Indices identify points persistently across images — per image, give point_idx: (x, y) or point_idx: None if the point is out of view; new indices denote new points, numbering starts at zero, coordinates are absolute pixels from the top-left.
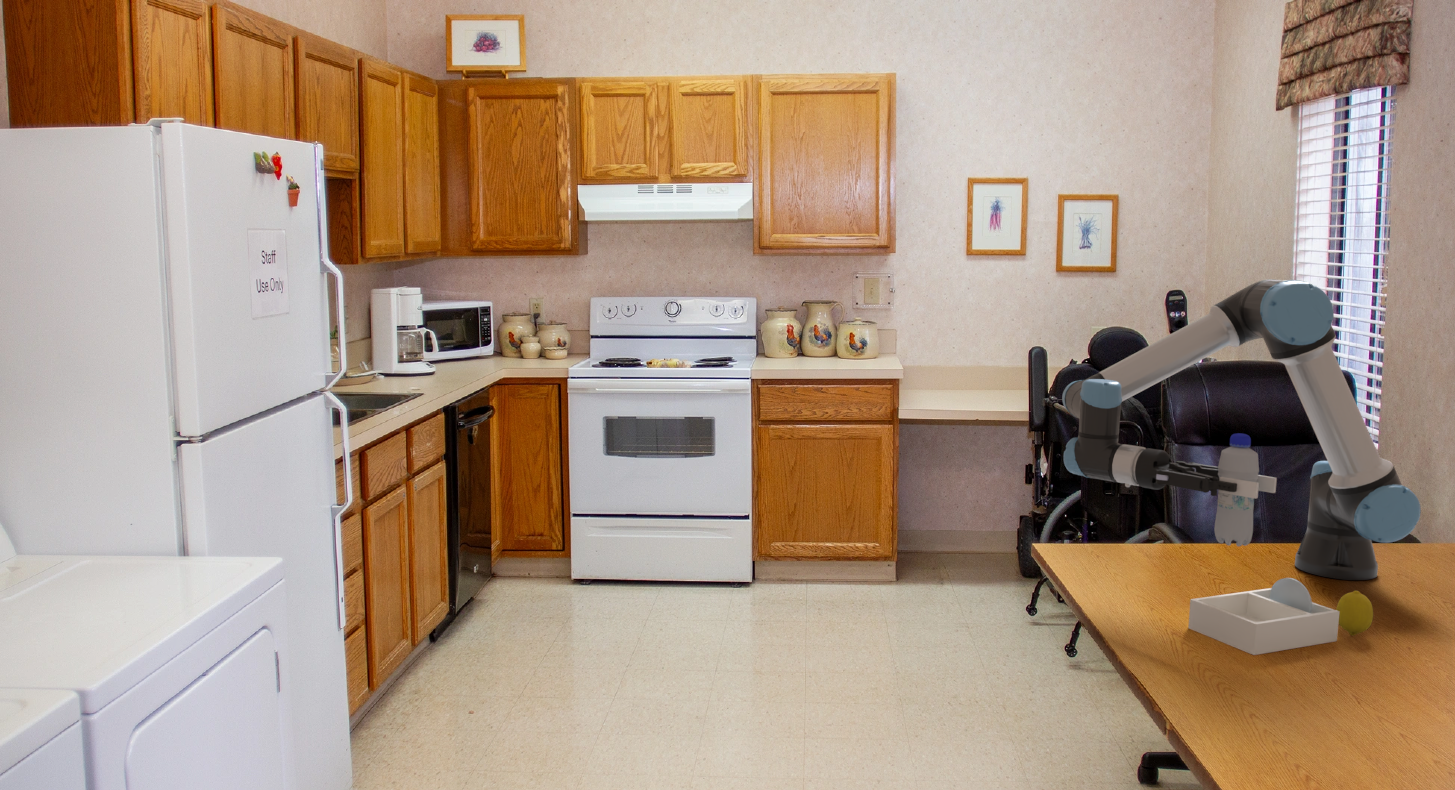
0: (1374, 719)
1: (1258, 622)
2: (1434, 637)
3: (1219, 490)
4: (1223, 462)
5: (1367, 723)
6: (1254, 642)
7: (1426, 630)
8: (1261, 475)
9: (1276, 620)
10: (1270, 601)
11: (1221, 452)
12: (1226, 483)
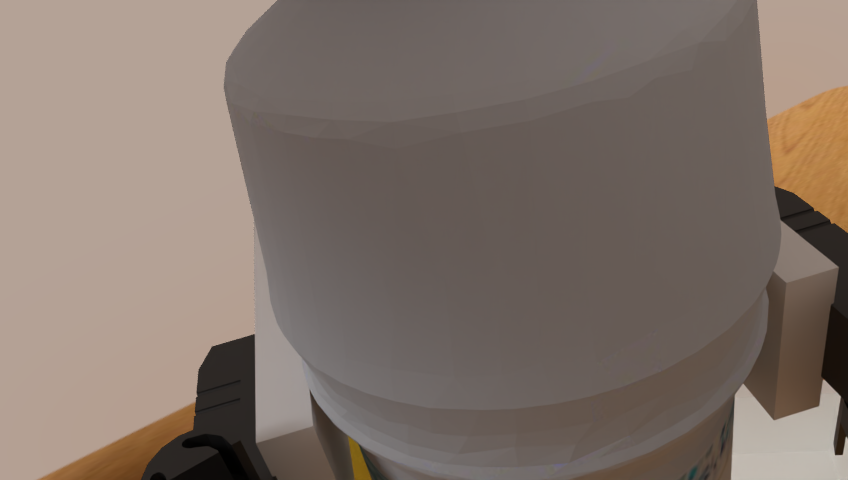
0: (791, 183)
1: (828, 390)
2: None
3: (817, 384)
4: (767, 128)
5: (820, 175)
6: None
7: (148, 452)
8: (262, 271)
9: (740, 388)
10: None
11: (709, 65)
12: (826, 219)
